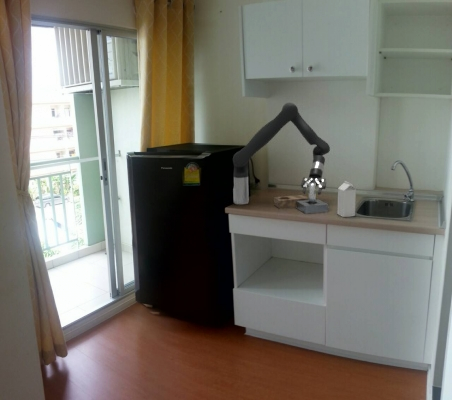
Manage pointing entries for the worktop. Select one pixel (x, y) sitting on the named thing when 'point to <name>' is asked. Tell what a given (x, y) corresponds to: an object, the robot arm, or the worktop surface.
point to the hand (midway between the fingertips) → (311, 193)
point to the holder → (312, 206)
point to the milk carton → (346, 200)
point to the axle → (312, 193)
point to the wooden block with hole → (288, 201)
